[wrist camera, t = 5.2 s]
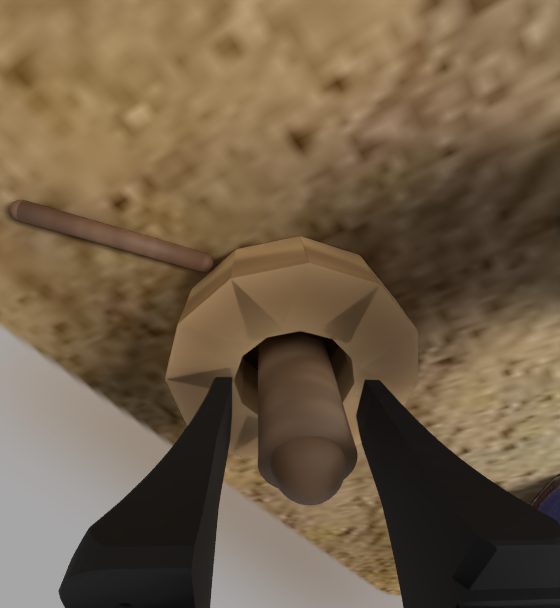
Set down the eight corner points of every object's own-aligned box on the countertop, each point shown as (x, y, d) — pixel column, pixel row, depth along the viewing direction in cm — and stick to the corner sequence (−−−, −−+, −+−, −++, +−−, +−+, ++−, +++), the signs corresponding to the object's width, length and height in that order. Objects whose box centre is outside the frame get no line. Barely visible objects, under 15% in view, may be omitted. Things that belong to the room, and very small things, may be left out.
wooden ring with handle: (433, 278, 16) (468, 311, 13) (342, 429, 21) (354, 476, 18) (16, 144, 12) (-50, 153, 10) (21, 363, 17) (-22, 409, 14)
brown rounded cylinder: (322, 308, 16) (372, 457, 9) (321, 362, 18) (363, 525, 11) (255, 313, 16) (253, 466, 9) (260, 366, 18) (261, 533, 11)
